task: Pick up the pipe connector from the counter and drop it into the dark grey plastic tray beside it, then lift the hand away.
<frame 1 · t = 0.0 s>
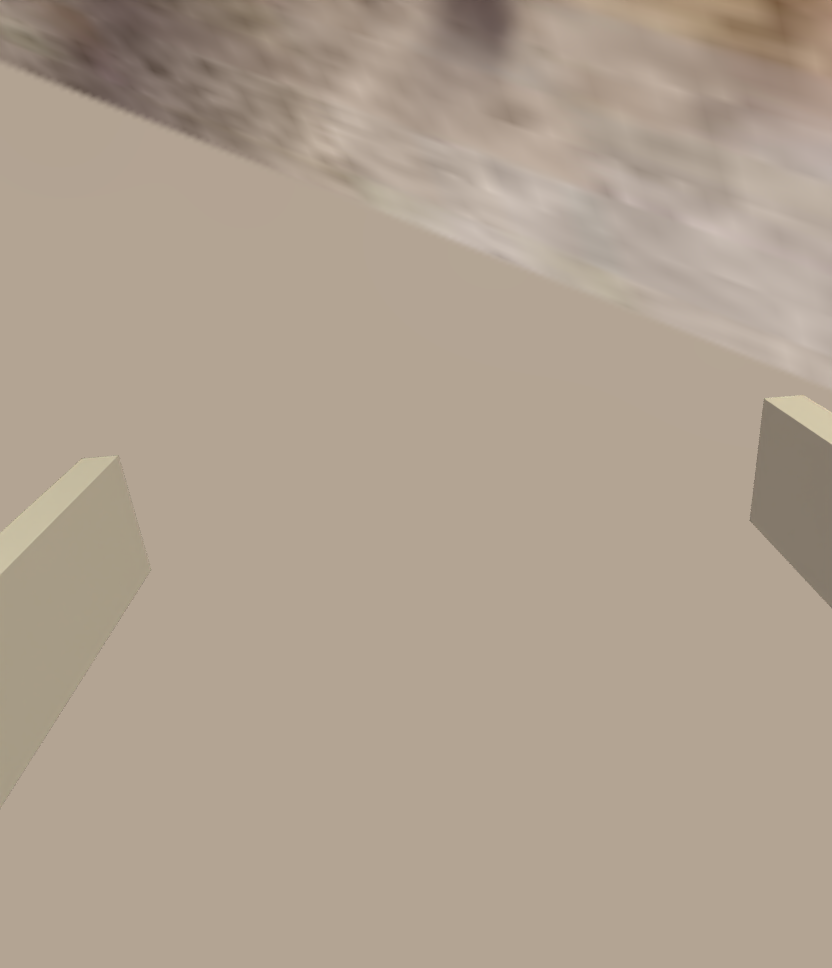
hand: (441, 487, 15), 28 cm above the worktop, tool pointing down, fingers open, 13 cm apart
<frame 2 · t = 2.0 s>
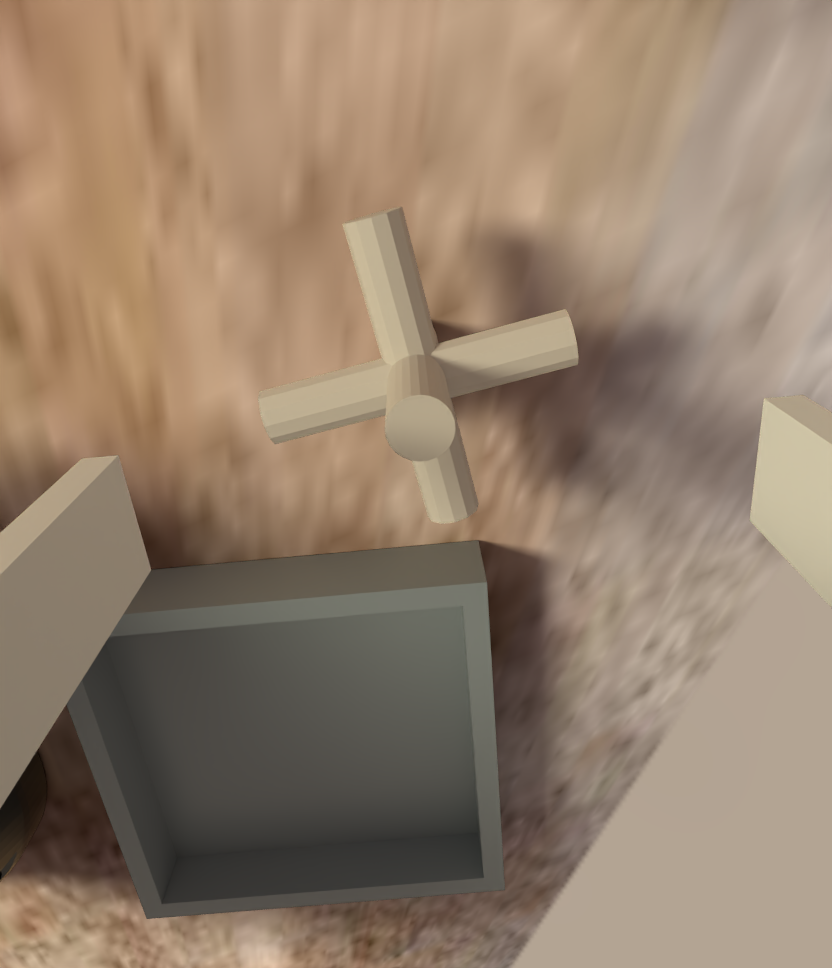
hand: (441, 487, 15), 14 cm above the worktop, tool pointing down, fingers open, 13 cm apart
tray: (305, 717, 35), on the worktop
pipe connector: (413, 339, 28), on the worktop
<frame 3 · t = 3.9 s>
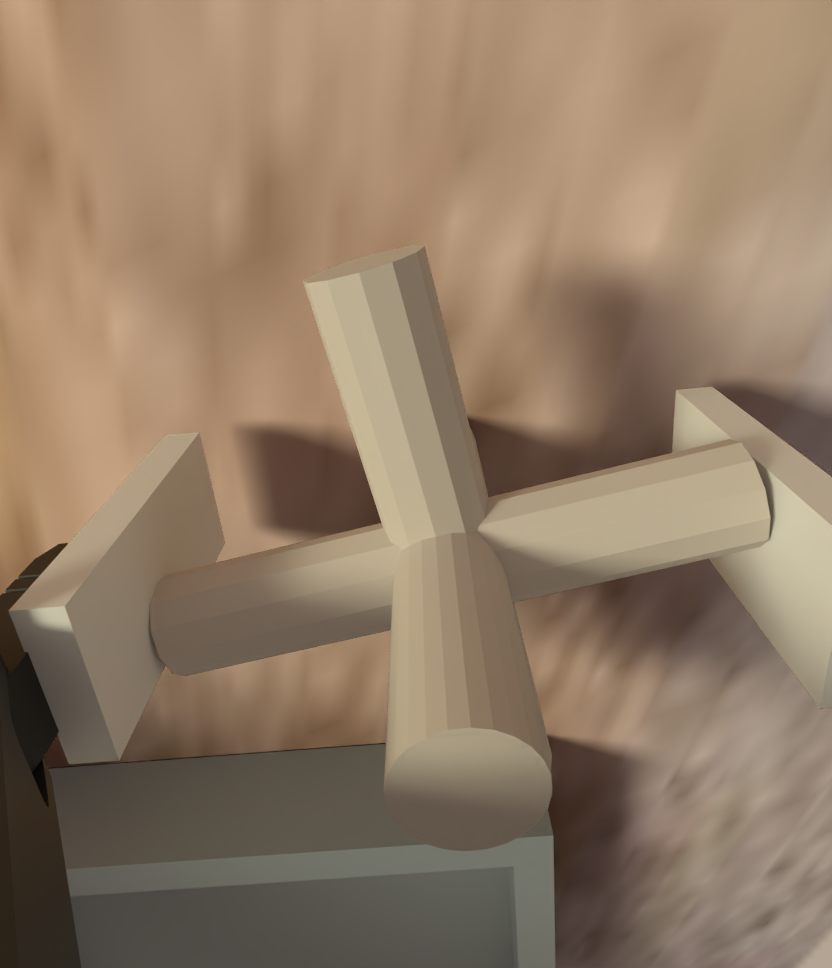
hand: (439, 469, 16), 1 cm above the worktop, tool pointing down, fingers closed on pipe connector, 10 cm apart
tray: (275, 951, 24), on the worktop
pipe connector: (437, 445, 17), on the worktop, touching gripper
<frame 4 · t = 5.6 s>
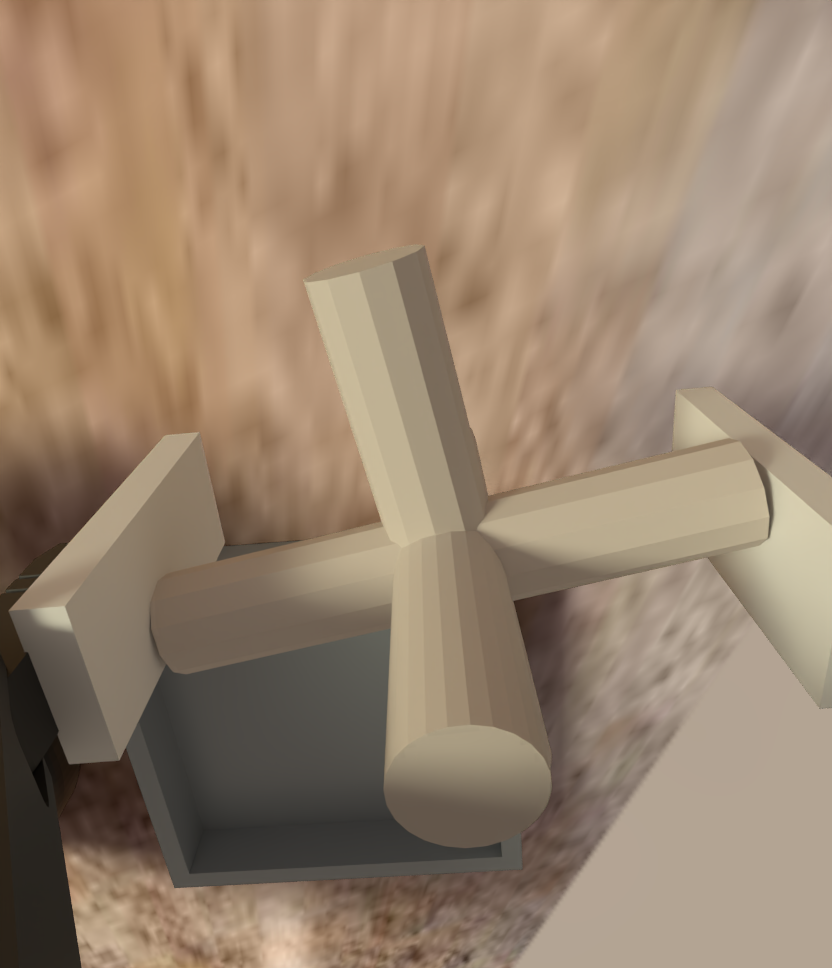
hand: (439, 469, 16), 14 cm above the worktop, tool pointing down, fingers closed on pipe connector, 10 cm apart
tray: (329, 696, 36), on the worktop
pipe connector: (437, 444, 17), point 12 cm above the worktop, touching gripper
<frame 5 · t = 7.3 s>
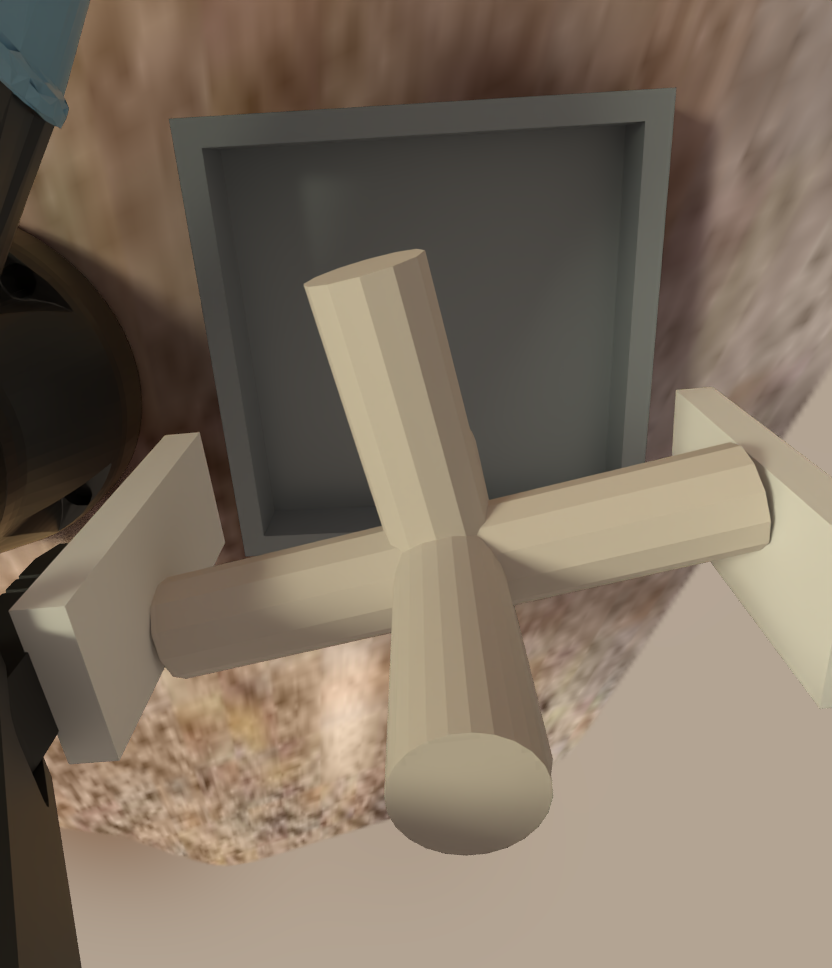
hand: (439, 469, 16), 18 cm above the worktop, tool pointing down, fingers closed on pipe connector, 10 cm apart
tray: (430, 335, 32), on the worktop
pipe connector: (438, 447, 17), point 16 cm above the worktop, touching gripper
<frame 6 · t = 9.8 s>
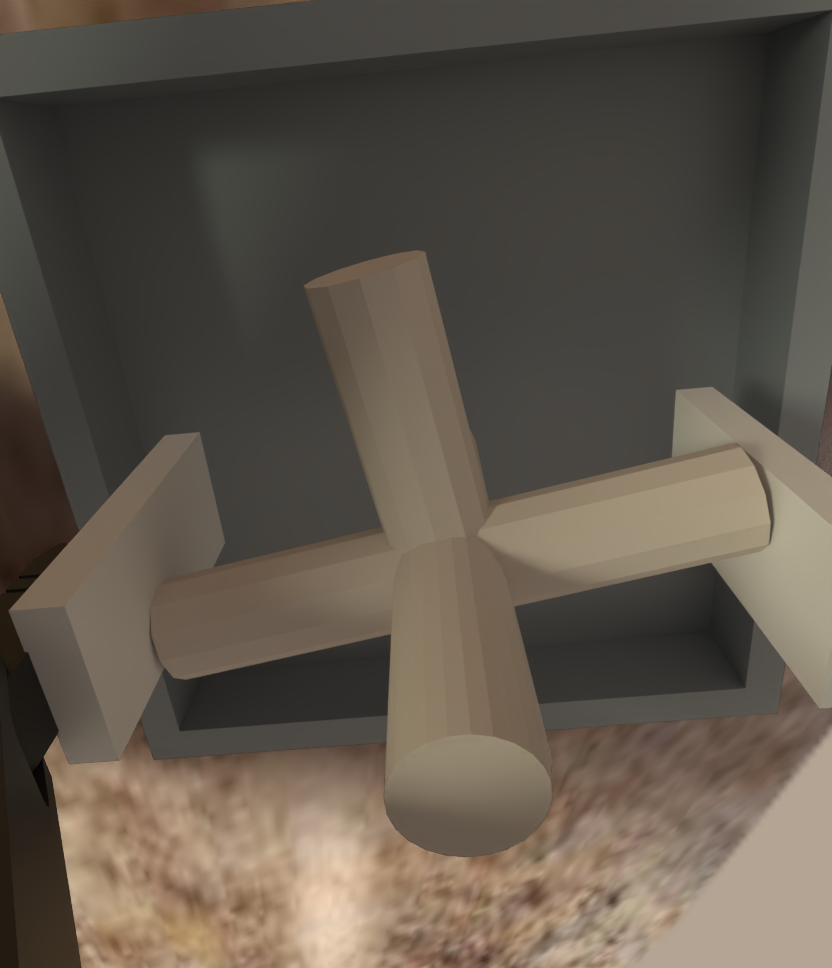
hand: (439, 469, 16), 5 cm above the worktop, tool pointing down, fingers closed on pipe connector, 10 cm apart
tray: (432, 402, 20), on the worktop
pipe connector: (438, 448, 17), point 3 cm above the worktop, touching gripper
when the fingers open (4 cm above the worktop, at t = 10.9 s): pipe connector drops 2 cm, resting on tray.
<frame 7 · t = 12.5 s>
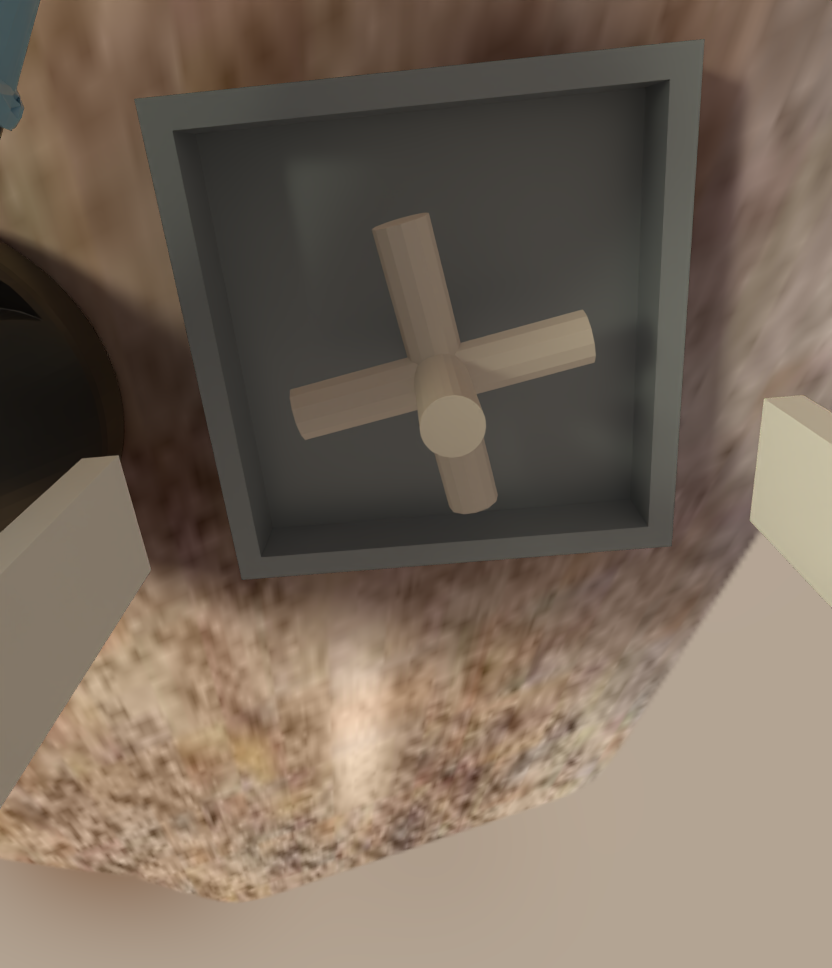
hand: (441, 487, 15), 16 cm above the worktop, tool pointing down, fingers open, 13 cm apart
tray: (435, 331, 29), on the worktop
pipe connector: (431, 335, 29), point 1 cm above the worktop, touching tray
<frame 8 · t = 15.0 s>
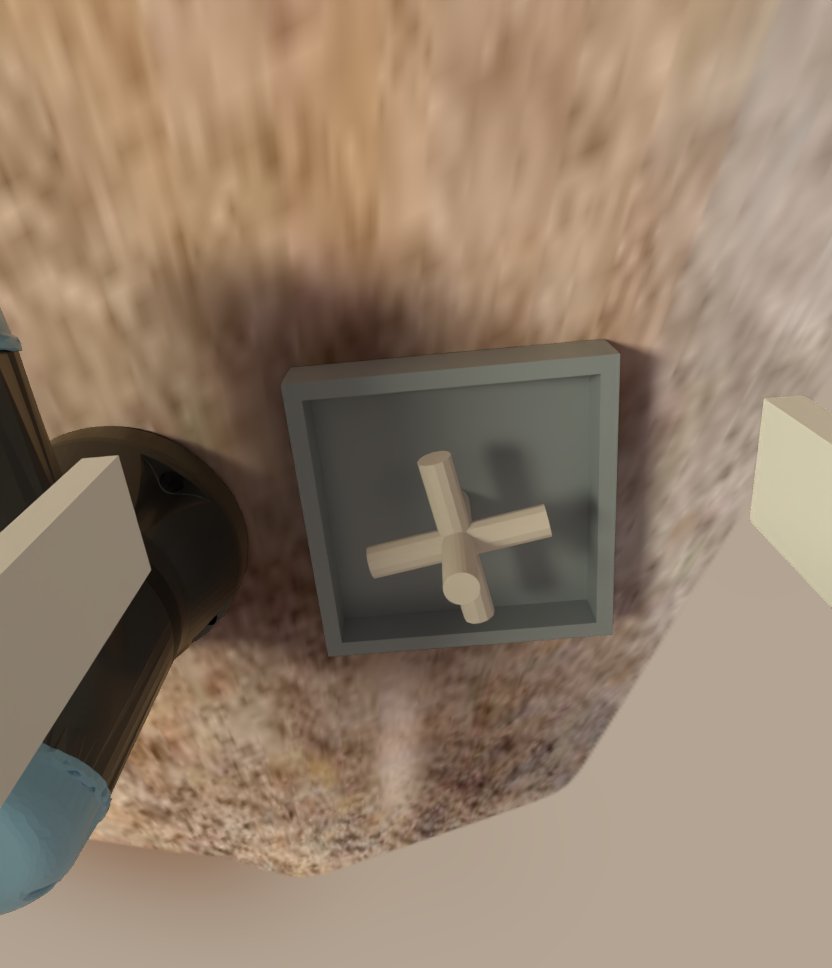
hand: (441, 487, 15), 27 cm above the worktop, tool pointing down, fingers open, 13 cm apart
tray: (456, 494, 44), on the worktop
pipe connector: (454, 500, 44), point 1 cm above the worktop, touching tray
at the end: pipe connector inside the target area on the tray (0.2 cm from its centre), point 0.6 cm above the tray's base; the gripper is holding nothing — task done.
